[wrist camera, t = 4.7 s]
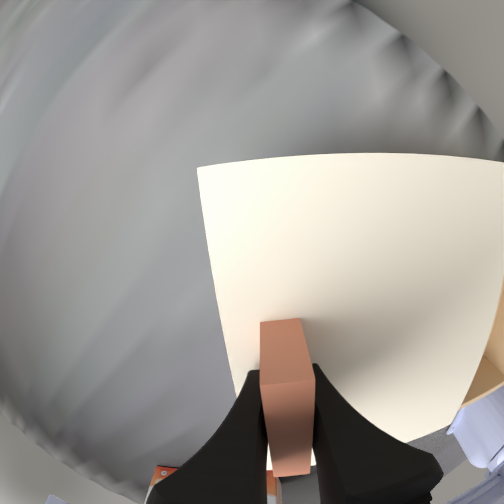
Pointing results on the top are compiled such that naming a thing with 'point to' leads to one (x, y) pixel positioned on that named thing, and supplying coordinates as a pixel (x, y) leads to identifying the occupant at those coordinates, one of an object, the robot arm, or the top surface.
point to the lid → (355, 285)
